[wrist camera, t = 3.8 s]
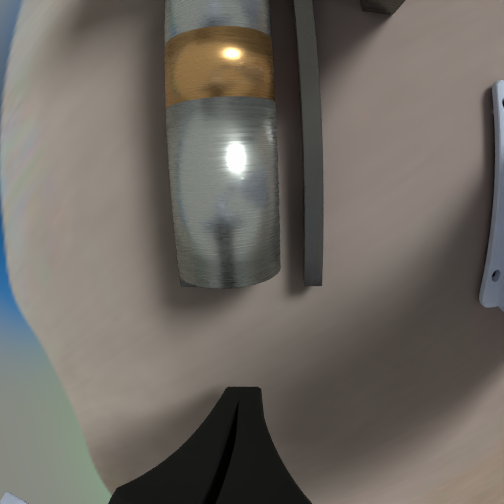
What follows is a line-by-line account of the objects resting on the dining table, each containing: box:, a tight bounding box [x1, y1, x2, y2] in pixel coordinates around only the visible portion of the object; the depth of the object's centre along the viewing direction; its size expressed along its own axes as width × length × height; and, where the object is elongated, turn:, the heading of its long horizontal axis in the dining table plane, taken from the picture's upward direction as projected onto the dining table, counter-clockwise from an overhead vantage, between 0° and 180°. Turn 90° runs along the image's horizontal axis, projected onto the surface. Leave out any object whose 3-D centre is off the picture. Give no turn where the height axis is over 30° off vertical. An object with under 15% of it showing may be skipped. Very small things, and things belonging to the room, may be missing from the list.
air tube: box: [165, 0, 281, 289], centre depth 8 cm, size 12×3×3 cm, turn 2°
